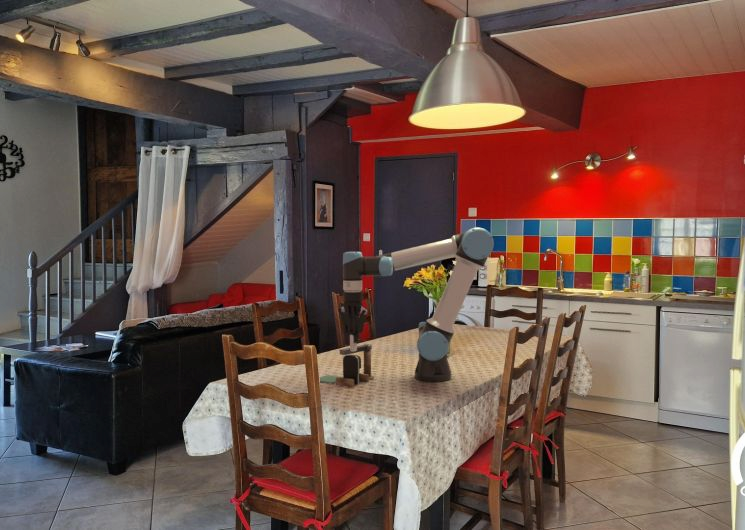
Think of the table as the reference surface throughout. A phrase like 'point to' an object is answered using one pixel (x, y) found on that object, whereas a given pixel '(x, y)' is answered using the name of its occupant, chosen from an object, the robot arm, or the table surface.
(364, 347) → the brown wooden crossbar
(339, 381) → the cradle
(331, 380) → the mat
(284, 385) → the table surface
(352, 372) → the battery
